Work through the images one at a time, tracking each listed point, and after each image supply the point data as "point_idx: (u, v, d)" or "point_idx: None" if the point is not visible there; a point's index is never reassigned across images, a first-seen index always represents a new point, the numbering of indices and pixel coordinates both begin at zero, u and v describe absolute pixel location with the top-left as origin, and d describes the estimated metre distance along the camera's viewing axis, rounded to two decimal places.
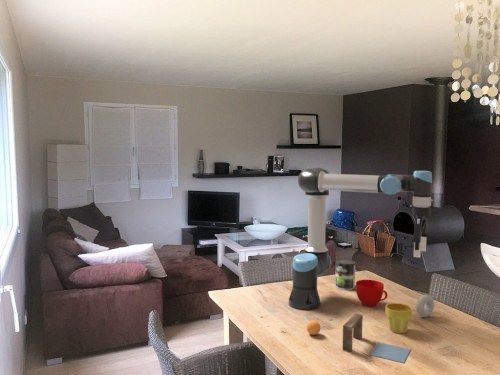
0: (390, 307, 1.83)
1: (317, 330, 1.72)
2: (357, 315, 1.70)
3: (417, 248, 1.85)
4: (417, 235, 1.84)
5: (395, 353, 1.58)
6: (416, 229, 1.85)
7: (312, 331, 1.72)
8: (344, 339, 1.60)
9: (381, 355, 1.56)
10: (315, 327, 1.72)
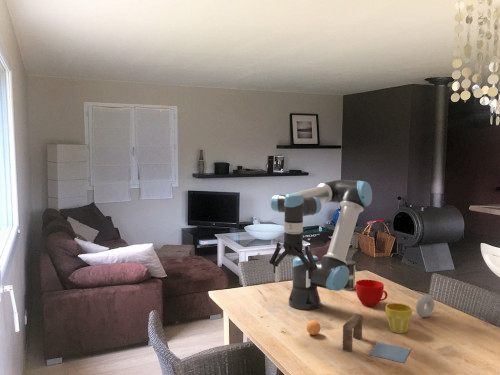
0: (390, 307, 1.83)
1: (317, 330, 1.72)
2: (357, 315, 1.70)
3: None
4: None
5: (395, 353, 1.58)
6: None
7: (312, 331, 1.72)
8: (344, 339, 1.60)
9: (381, 355, 1.56)
10: (315, 327, 1.72)
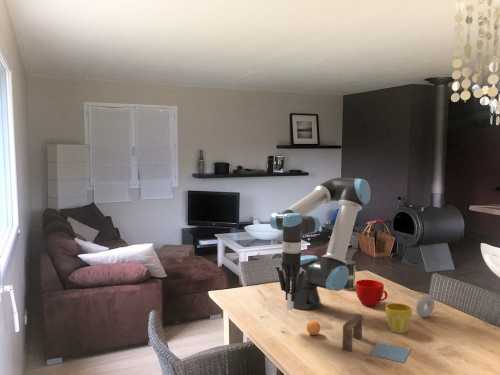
0: (390, 307, 1.83)
1: (317, 330, 1.72)
2: (357, 315, 1.70)
3: None
4: None
5: (395, 353, 1.58)
6: None
7: (312, 331, 1.72)
8: (344, 339, 1.60)
9: (381, 355, 1.56)
10: (315, 327, 1.72)
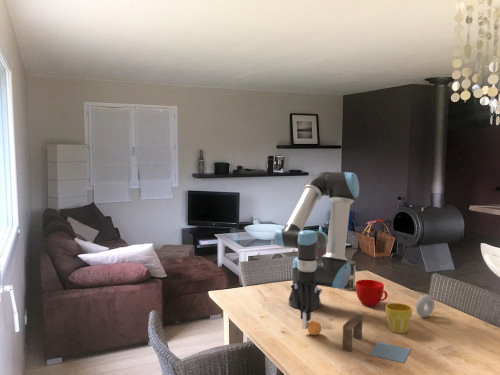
0: (390, 307, 1.83)
1: (318, 330, 1.72)
2: (357, 315, 1.70)
3: None
4: None
5: (395, 353, 1.58)
6: None
7: (313, 331, 1.72)
8: (344, 339, 1.60)
9: (381, 355, 1.56)
10: (316, 327, 1.72)
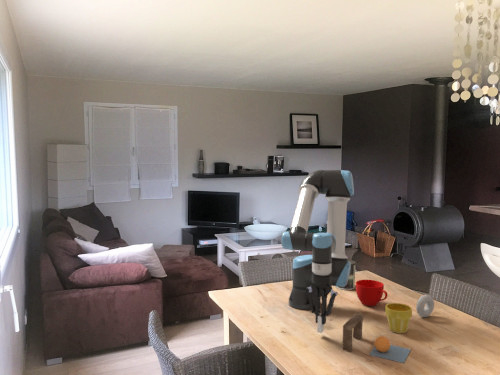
0: (390, 307, 1.83)
1: (375, 342, 1.60)
2: (357, 315, 1.70)
3: None
4: None
5: (395, 353, 1.58)
6: None
7: (378, 344, 1.58)
8: (344, 339, 1.60)
9: (381, 355, 1.56)
10: (375, 346, 1.59)
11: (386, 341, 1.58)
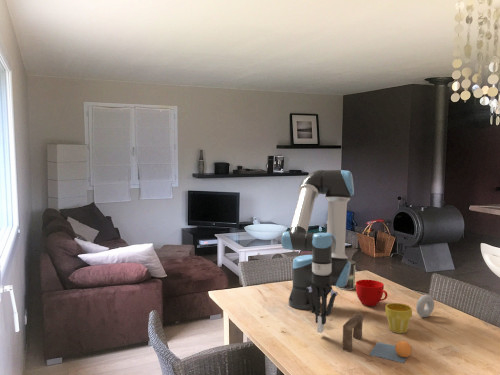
0: (390, 307, 1.83)
1: (409, 351, 1.53)
2: (357, 315, 1.70)
3: None
4: None
5: (395, 353, 1.58)
6: None
7: (404, 353, 1.53)
8: (344, 339, 1.60)
9: (381, 355, 1.56)
10: (406, 348, 1.53)
11: (400, 356, 1.55)
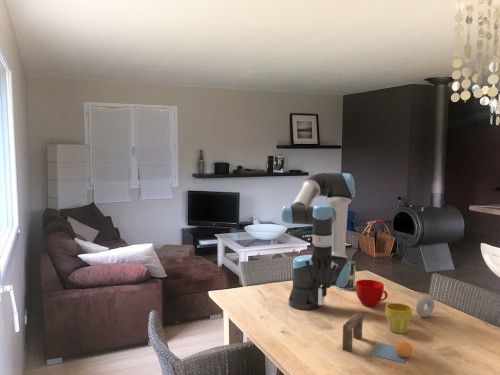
0: (390, 307, 1.83)
1: (409, 351, 1.53)
2: (357, 315, 1.70)
3: (316, 292, 1.73)
4: None
5: (395, 353, 1.58)
6: None
7: (404, 353, 1.53)
8: (344, 339, 1.60)
9: (381, 355, 1.56)
10: (406, 348, 1.53)
11: (400, 356, 1.55)
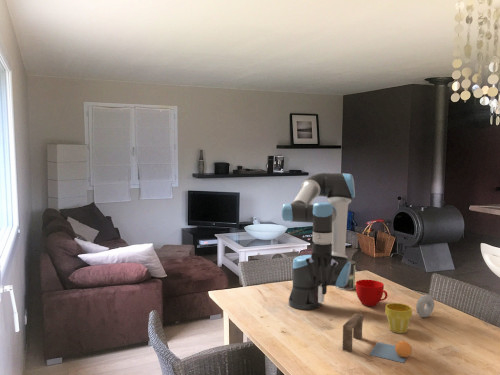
0: (390, 307, 1.83)
1: (409, 351, 1.53)
2: (357, 315, 1.70)
3: (316, 290, 1.72)
4: None
5: (395, 353, 1.58)
6: None
7: (404, 353, 1.53)
8: (344, 339, 1.60)
9: (381, 355, 1.56)
10: (406, 348, 1.53)
11: (400, 356, 1.55)
